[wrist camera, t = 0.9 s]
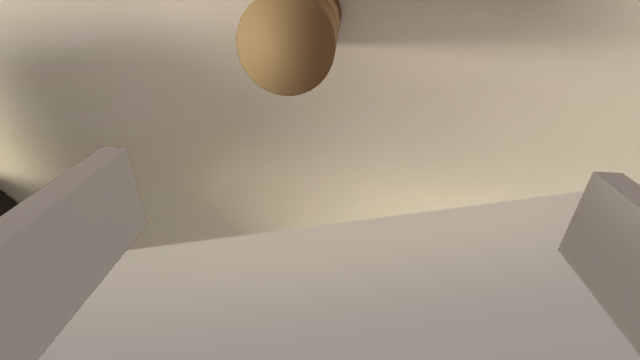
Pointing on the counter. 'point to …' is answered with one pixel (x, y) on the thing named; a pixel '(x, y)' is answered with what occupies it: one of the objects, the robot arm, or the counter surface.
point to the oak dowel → (288, 43)
